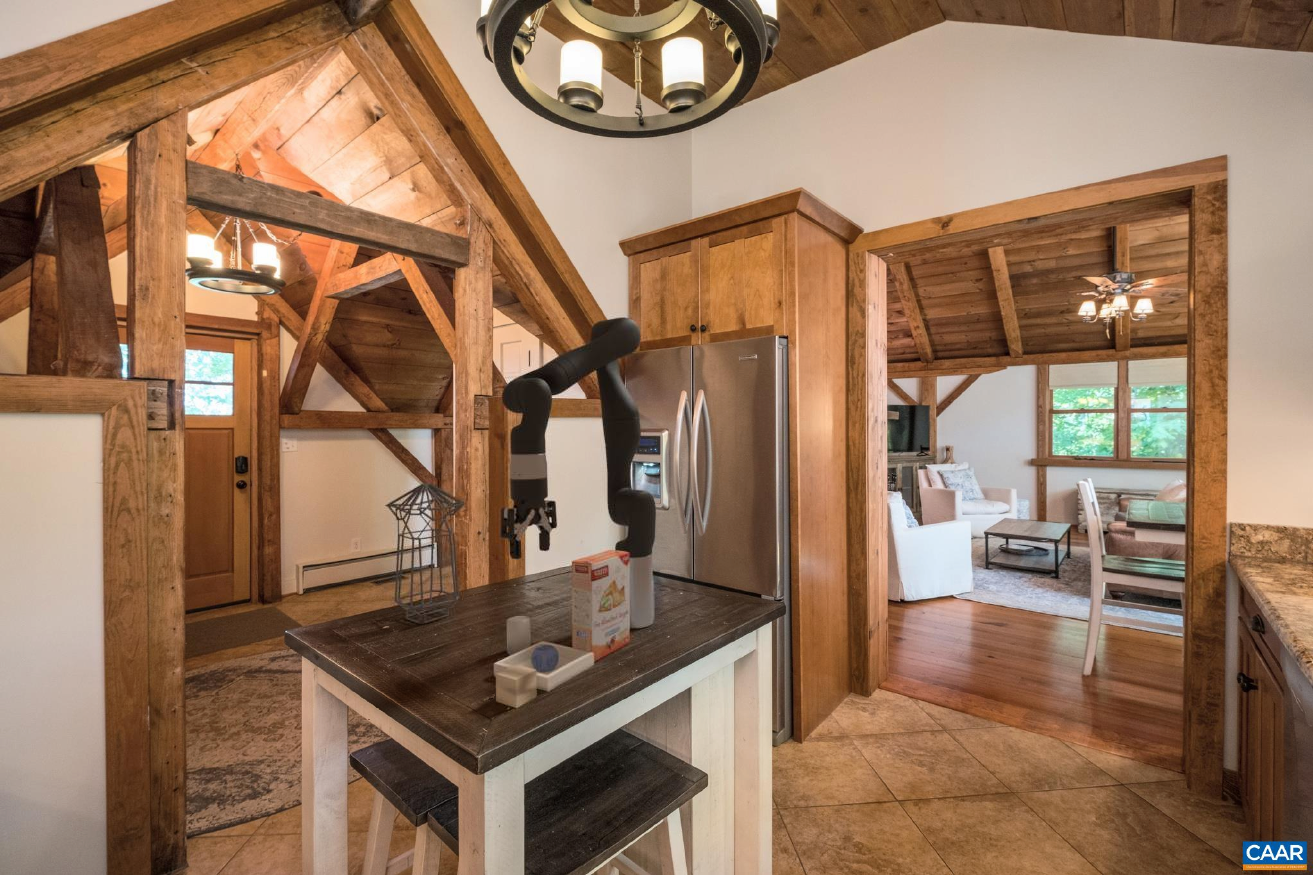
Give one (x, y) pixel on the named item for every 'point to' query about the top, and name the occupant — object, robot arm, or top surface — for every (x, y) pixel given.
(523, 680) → the wooden block
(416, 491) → the geometric lantern
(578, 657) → the tray
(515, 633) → the grey rounded cylinder
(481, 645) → the top surface
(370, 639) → the top surface
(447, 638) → the top surface
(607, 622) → the cracker box
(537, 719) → the top surface
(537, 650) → the decorative dice
